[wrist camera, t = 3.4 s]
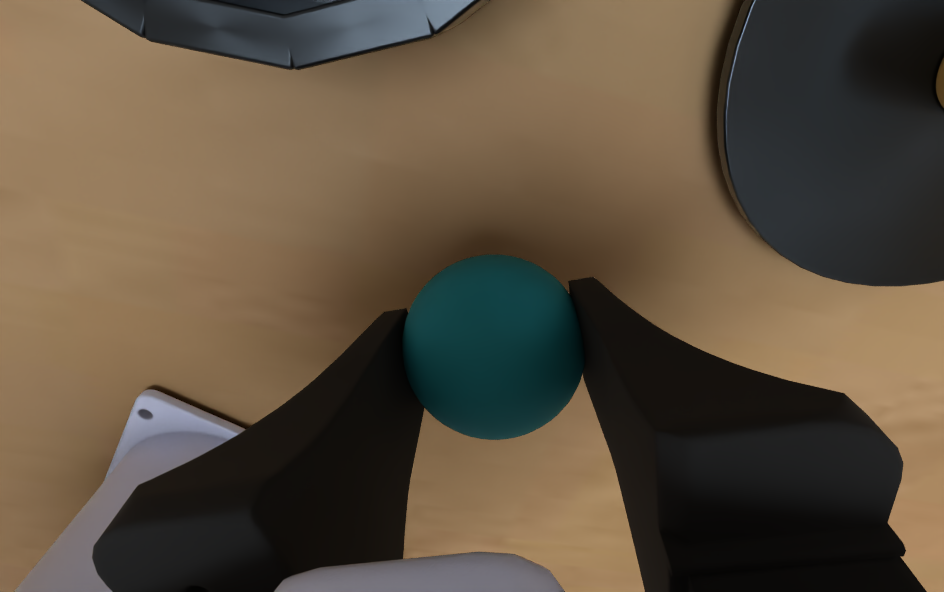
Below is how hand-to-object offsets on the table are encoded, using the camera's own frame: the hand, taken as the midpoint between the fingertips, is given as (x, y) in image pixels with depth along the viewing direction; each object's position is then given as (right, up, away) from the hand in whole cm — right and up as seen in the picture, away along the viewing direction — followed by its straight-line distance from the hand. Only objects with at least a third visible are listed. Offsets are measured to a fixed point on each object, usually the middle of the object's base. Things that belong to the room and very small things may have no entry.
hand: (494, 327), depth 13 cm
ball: (0, 0, -1) cm, 1 cm away
